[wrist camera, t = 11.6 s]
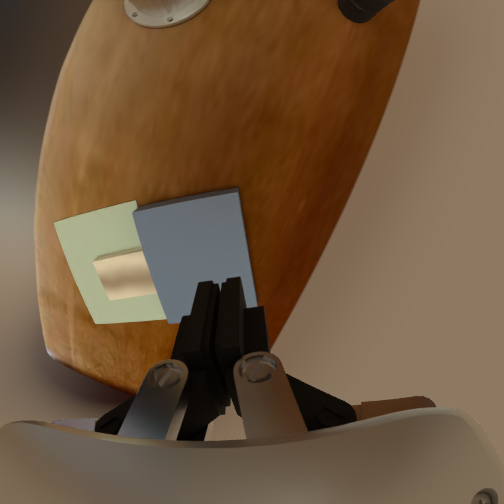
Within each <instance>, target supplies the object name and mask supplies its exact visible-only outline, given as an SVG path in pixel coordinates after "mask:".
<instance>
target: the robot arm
mask: <svg viewBox="0 0 504 504" xmlns="http://www.w3.org/2000/svg"><path fill="white" fill-rule="evenodd" d="M209 2H210V0H124V8H125V11H126V13H127V15H128V17H129V18H130V19H131V20H132V21H134V22H135V23H136V24H139V25H141V26H144V27H148V28H165V27H170V26H174V25H177V24H180V23H183V22H185V21H187V20H189V19H191V18H192V17H194V16H195V15H197V14H198V13H199V12H200V11H202V10H203V9H204V8H205V7H206V5H207V4H208V3H209ZM171 20H173V21H171ZM170 21H171V22H170ZM230 399H232V402H233V404H234V407H235V410H236V412H237V415H239V416H240V417H242V419H243V424H244V429H245V434H246V438H247V439H244V440H225V441H210V440H211V436H212V432H213V428H214V423H213V420H214V419H216V418H217V417H218V416H219V415H224V414H225V407H226V406H230V403H231V402H230ZM0 504H504V464H503V462H502V460H501V458H500V456H499V454H498V452H497V450H496V448H495V446H494V445H493V443H492V441H491V440H490V438H489V436H488V435H487V433H486V432H485V431H484V429H483V428H482V427H481V425H480V424H479V423H478V422H477V421H476V419H474V418H473V417H472V416H471V415H470V414H468V413H466V412H465V411H462V410H459V409H454V408H445V407H436V405H435V403H434V402H433V401H432V400H430V399H429V398H426V397H424V396H414V397H407V398H399V399H391V400H381V401H368V402H361V405H350V404H348V403H347V402H345V401H343V400H341V399H338V398H336V397H334V396H332V395H330V394H327V393H325V392H323V391H321V390H319V389H317V388H314V387H312V386H310V385H308V384H306V383H304V382H302V381H300V380H298V379H296V378H294V377H292V376H290V375H288V374H286V373H285V371H284V368H283V365H282V363H281V361H280V360H279V358H278V357H277V356H275V355H274V354H271V353H270V345H269V337H268V330H267V323H266V317H265V311H264V306H258V307H251V308H247V306H246V301H245V296H244V291H243V286H242V281H241V277H240V276H239V277H232V278H226V282H222V284H221V292H220V287H219V284H218V283H215V284H214V283H213V281H212V280H210V281H203V282H198V285H197V289H196V293H195V297H194V301H193V305H192V309H191V313H190V315H185V316H182V319H181V322H180V325H179V329H178V333H177V336H176V340H175V344H174V348H173V352H172V355H171V359H170V360H164V361H161V362H159V363H157V364H155V365H154V366H153V367H151V368H150V370H149V371H148V373H147V374H146V376H145V378H144V380H143V382H142V384H141V386H140V388H139V391H138V393H137V394H136V395H134V396H133V397H131V398H130V399H128V400H127V401H125V402H124V403H122V404H121V405H119V406H117V407H116V408H114V409H113V410H111V411H109V412H108V413H106V414H105V415H103V416H102V417H101V418H100V419H99V420H97V419H96V418H85V419H65V420H55V421H53V422H52V423H48V422H43V421H34V420H21V421H15V422H11V423H8V424H5V425H3V426H2V427H1V428H0Z"/></svg>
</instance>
